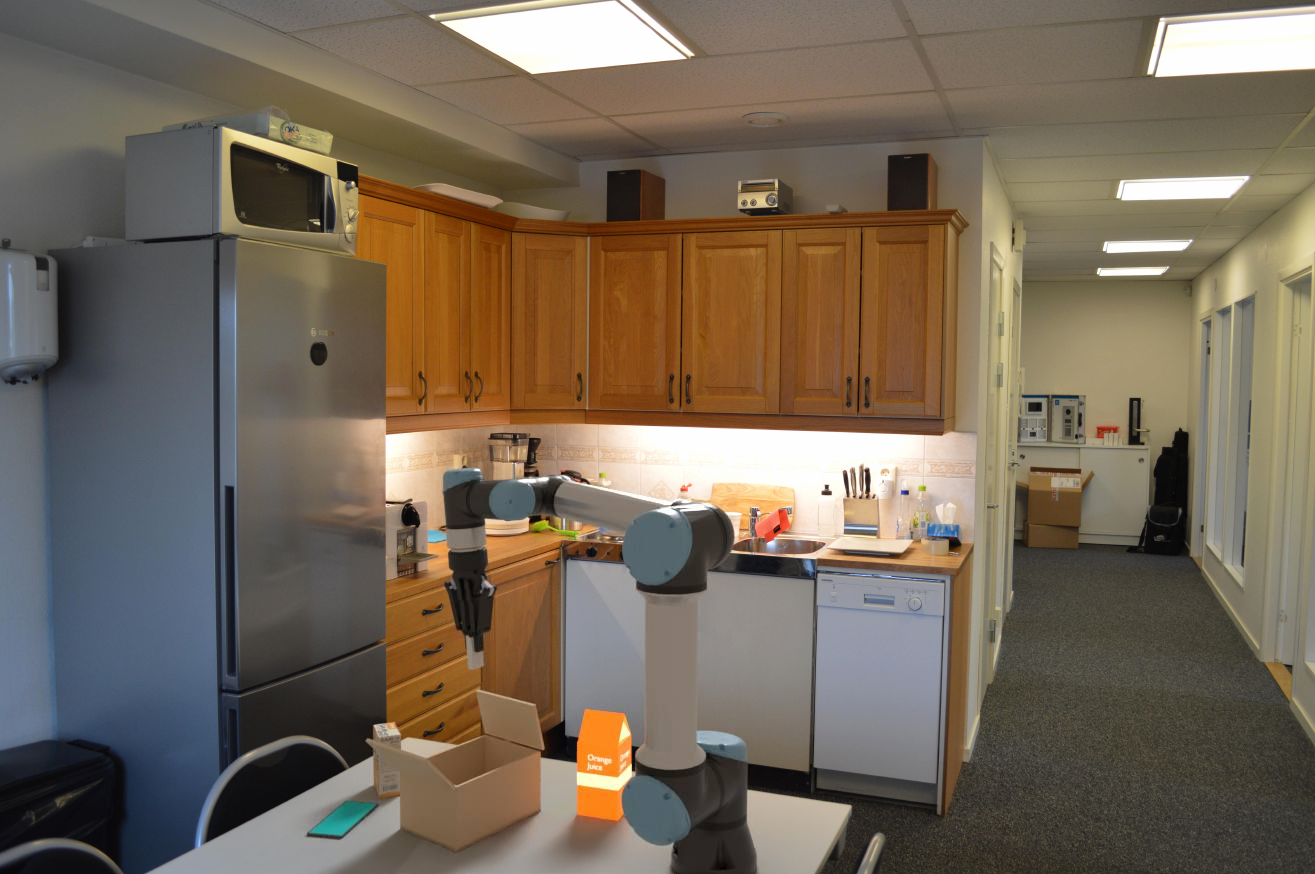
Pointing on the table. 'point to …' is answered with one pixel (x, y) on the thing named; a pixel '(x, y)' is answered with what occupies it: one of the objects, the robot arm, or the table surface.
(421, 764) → the left flap
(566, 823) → the table surface
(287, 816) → the table surface
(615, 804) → the orange juice
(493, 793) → the carton
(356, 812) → the smartphone
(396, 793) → the supplement box
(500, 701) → the right flap
